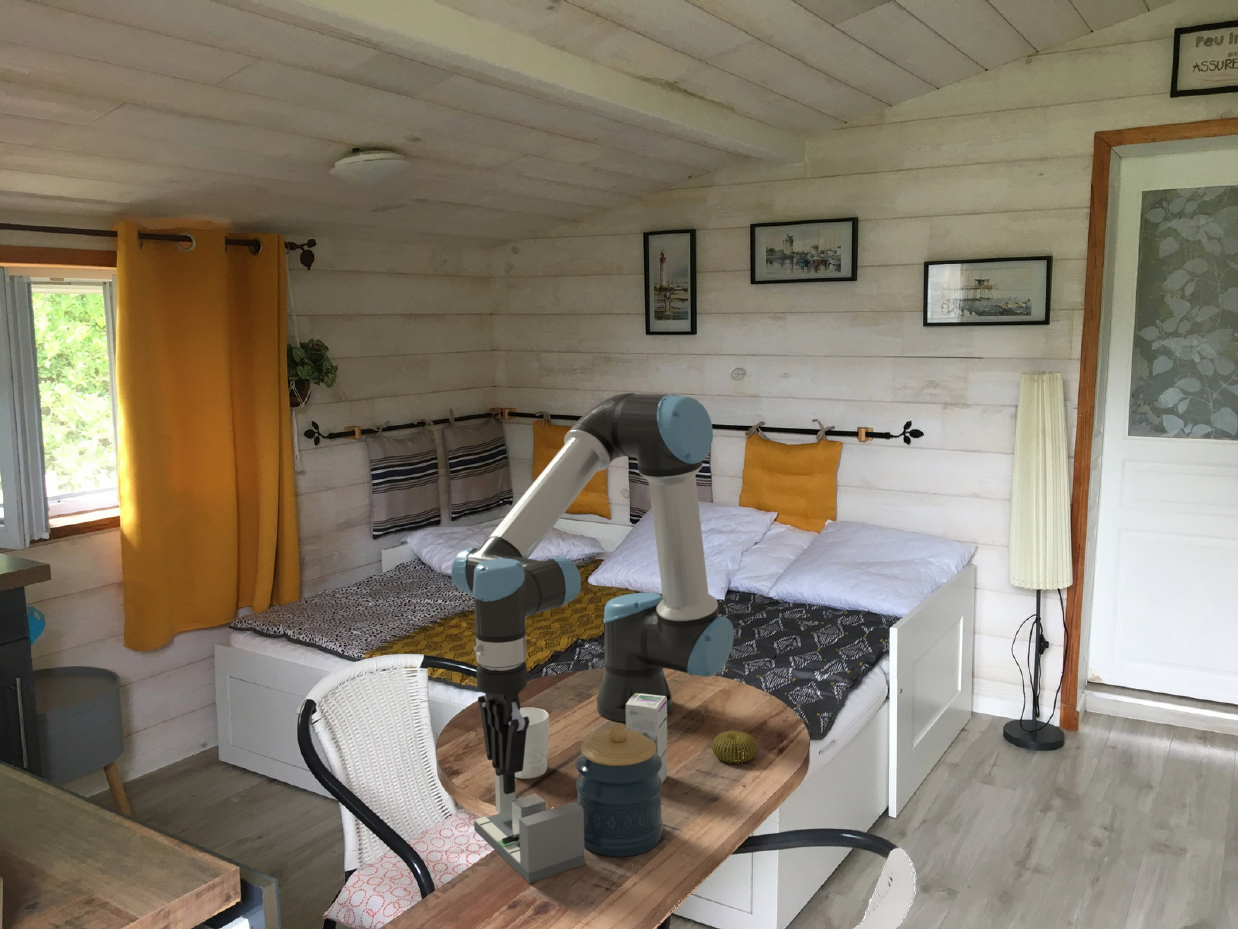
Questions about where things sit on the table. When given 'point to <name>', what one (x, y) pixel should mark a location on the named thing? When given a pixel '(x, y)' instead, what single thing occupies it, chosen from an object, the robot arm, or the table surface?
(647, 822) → the canister
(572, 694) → the table surface
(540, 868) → the gauge base
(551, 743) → the table surface
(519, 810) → the block
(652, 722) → the syrup box
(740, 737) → the green sea urchin shell
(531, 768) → the white cup
